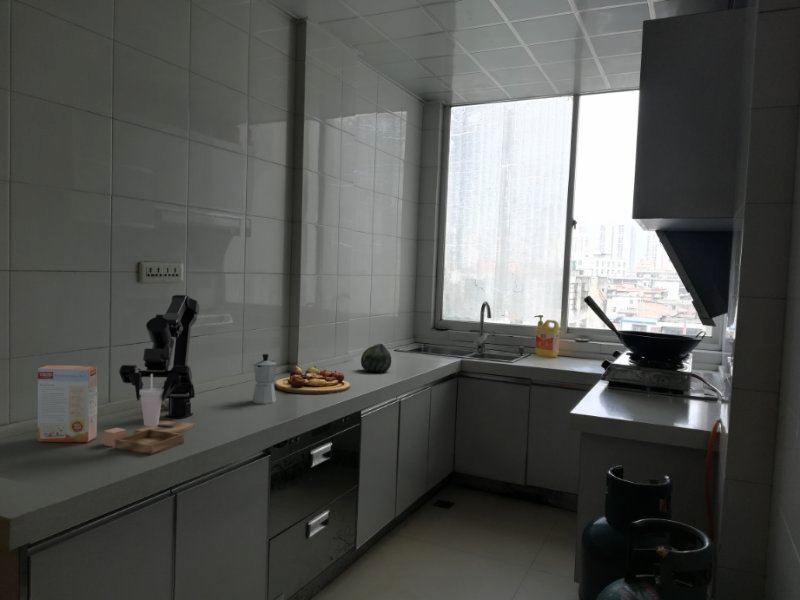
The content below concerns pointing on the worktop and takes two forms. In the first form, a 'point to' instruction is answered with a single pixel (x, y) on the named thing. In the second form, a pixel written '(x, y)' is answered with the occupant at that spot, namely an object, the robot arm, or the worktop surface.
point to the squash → (376, 358)
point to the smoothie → (151, 404)
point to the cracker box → (67, 403)
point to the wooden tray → (149, 441)
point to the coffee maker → (264, 381)
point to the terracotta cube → (113, 436)
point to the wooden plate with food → (313, 382)
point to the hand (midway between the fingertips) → (150, 399)
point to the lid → (169, 427)
